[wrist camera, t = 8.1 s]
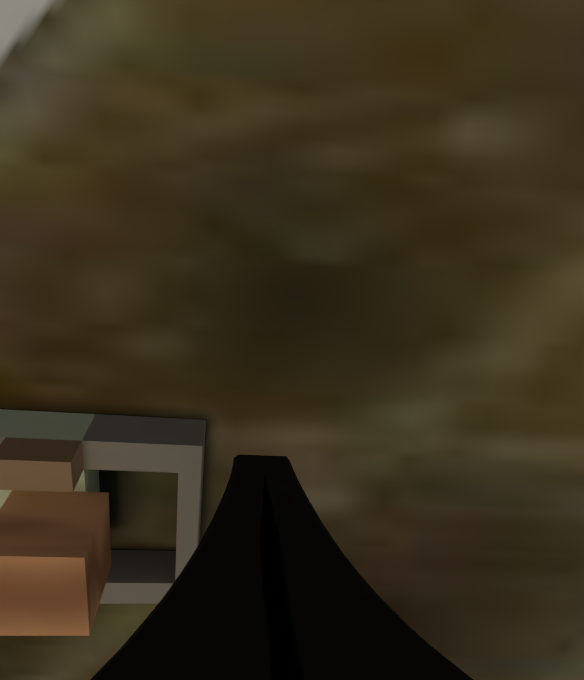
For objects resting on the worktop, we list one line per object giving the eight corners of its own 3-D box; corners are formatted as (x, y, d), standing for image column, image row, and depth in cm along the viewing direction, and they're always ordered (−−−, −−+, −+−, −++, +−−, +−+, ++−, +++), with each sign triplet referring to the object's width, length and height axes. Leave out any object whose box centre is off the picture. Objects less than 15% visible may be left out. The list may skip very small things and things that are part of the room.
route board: (197, 570, 26) (191, 629, 23) (-56, 567, 25) (-99, 631, 22) (206, 419, 22) (199, 467, 19) (-96, 404, 21) (-156, 453, 18)
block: (111, 564, 23) (89, 635, 20) (23, 563, 23) (-14, 635, 19) (108, 492, 21) (84, 557, 18) (13, 488, 21) (-30, 555, 18)
